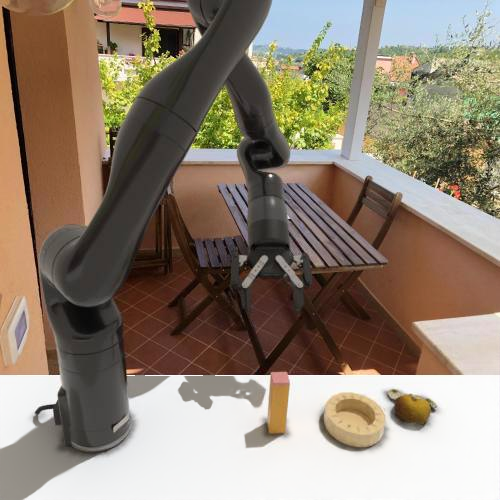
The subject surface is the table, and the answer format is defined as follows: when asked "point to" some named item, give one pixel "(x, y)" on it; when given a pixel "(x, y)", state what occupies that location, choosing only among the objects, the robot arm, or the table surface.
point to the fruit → (411, 407)
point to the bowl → (354, 419)
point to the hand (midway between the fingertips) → (273, 311)
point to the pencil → (278, 402)
